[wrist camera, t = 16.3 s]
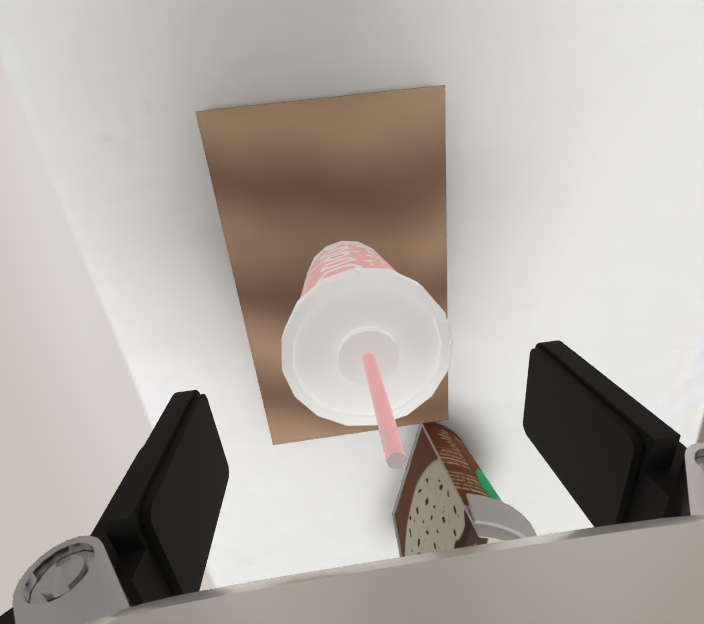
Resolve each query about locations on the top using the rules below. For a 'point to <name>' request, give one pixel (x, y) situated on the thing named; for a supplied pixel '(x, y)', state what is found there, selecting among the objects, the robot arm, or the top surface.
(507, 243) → the top surface
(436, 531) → the food container
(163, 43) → the top surface
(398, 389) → the beverage cup
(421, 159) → the walnut board
